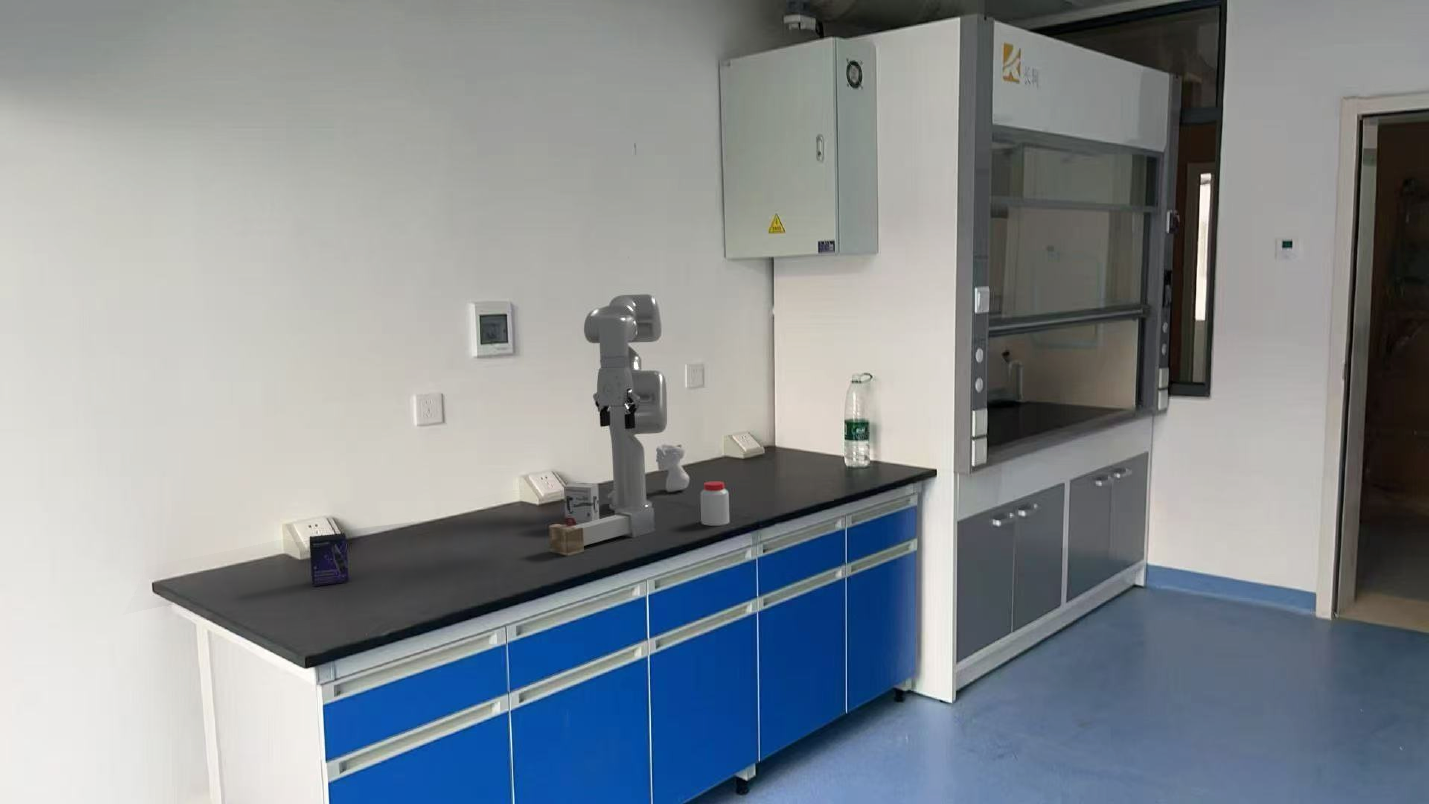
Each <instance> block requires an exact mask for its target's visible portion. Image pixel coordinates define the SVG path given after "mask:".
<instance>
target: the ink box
mask: <svg viewBox="0 0 1429 804" xmlns="http://www.w3.org/2000/svg"><path fill="white" fill-rule="evenodd" d="M563 495H564V496H563V497H564V499H563V501H564V521H565V523H564V524H566V525H567V526H570V527H571V526H575V525H579V524H583V523H586V522H590V521H594V520H598V519H600V505H599V504H600V503H599V484H597V483H595V482H594V483H593V482H575V481H574V482H570V483H568V484H566V485H564V486H563Z"/></svg>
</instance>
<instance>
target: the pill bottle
mask: <svg viewBox="0 0 1429 804" xmlns="http://www.w3.org/2000/svg"><path fill="white" fill-rule="evenodd" d="M703 485H704V486H703V487H704V488H703V490H701V492H700V494H699V495H700V513H701V514H700V516H701V517H700V518H701V519H700V521H701V524H702V525H705V526H715V527H716V526H724V525H728V524H729V523H730V501H729V500H730V499H729V497H730V495H729V491H728V490H727V489H726V488H725V482H724V481H719V480H718V481H707V482H704V484H703Z"/></svg>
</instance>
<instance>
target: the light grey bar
mask: <svg viewBox="0 0 1429 804" xmlns="http://www.w3.org/2000/svg"><path fill="white" fill-rule="evenodd" d="M571 527H575V529H577V528H583V540H584V546H587V545H591V544H595V543H599V542H602V541H605V540H608V539H609V540H610V539H613V538H616V537H620V536H623V535H624V534H628V533H631V522H630V515H627V514H618V515H615V514H613V515H611V516H606V517H603V518H599V519H598V520H594V521H590V522H586V523H583V524H579V525H575V526H571Z"/></svg>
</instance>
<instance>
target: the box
mask: <svg viewBox="0 0 1429 804" xmlns="http://www.w3.org/2000/svg"><path fill="white" fill-rule="evenodd" d="M308 539H309V540H308V541H309V555H310V556H309V557H310V558H309V559H310V573H311V574H310V576H311V582H312V583H311V584H312V587H313V588H314V587H318V586H323V585H324V586H327V585H335V584H344V583H349V582H350V579H349V564H348V545H347V537H346V534H345V532H341V533H340V532H339V533H333V534H332V533H331V534H323V535H320V534H319V535H311V536H309V537H308Z"/></svg>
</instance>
